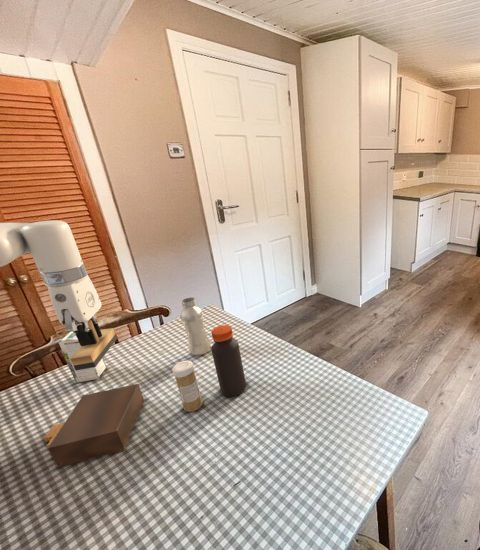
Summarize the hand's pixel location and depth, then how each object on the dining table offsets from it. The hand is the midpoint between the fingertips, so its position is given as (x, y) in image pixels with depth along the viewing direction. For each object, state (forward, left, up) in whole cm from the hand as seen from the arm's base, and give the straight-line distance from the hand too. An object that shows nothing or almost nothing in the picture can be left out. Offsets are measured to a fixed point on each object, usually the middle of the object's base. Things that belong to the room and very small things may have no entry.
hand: (91, 340), depth 77 cm
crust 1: (-8, -9, -18) cm, 22 cm away
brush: (0, 0, -4) cm, 4 cm away
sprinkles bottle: (+21, -11, -19) cm, 31 cm away
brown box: (+2, -12, -19) cm, 23 cm away
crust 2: (-5, -15, -17) cm, 23 cm away
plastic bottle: (+20, +15, -19) cm, 31 cm away
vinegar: (+31, -8, -19) cm, 37 cm away
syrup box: (-10, +14, -19) cm, 25 cm away
